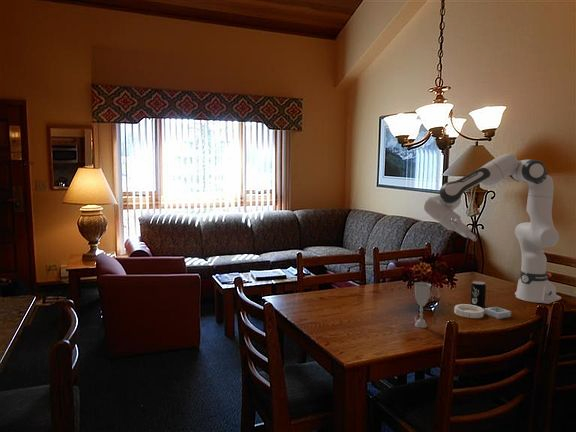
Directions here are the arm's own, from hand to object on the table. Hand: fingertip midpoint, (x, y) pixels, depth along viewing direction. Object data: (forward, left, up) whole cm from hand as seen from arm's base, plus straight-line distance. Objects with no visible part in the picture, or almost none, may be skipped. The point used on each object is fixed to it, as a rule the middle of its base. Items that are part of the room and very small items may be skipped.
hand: (475, 238), depth 215 cm
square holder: (+2, +17, -33) cm, 37 cm away
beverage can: (0, +4, -33) cm, 33 cm away
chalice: (+43, +13, -33) cm, 56 cm away
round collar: (+12, +10, -33) cm, 36 cm away
